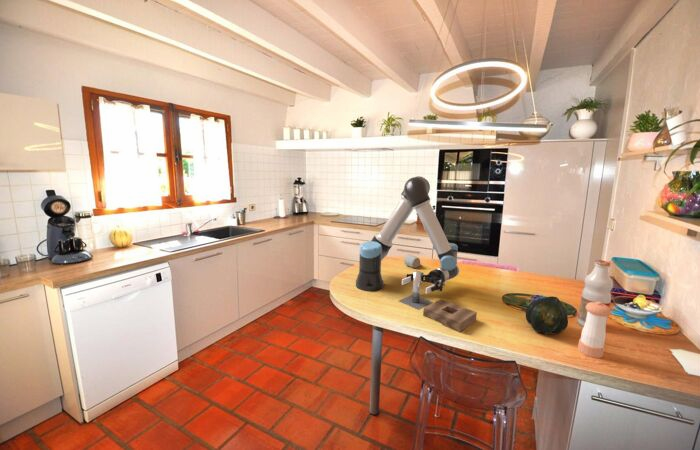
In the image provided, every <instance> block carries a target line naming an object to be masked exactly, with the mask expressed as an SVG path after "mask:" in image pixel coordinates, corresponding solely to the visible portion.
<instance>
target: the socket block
mask: <svg viewBox="0 0 700 450" xmlns="http://www.w3.org/2000/svg"><path fill="white" fill-rule="evenodd" d="M477 313H478V312H477V311H475V310H472V309H470V308H467V307H464V306H461V305H458V304H456V303H453V302H450V301H448V300H445V299H443V298H440V299H438V300H436V301H434V302H433V303H431V304H429V305H427V306H425V307H423V314H422V316H423V317H425V318H427V319H430V320H432V321H435V322H437V323H439V324H441V325H442V326H444V327H447V328H449V329H450V330H454V331H456V332H458V333H460V332H462V331H463V330H465V329H466V328H467V327H470V326H471V325H472V324H473V323H476V320H477Z"/></svg>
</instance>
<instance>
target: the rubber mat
mask: <svg viewBox="0 0 700 450" xmlns="http://www.w3.org/2000/svg"><path fill="white" fill-rule="evenodd" d="M398 302H399V303H402V304H403V305H406V306H408V307H410V308H411V307H412V309H415V310H419V311H420V310H422V309H424V307H426V306H428V305H430V304H432V303H434V302H433V301H431V300H428V299H427V298H426V299H425V298H423V297H421V296H420V301H419V303H413V302H412V294H411V295H409V296H406V297H403V298H401V299H399V300H398Z"/></svg>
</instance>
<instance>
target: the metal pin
mask: <svg viewBox="0 0 700 450" xmlns="http://www.w3.org/2000/svg"><path fill="white" fill-rule="evenodd" d="M421 273H422V271H420V270H414V271H413V273H412V274H413V281H412V289H411V290H412V292H411V293H412V294H411V295H412V302H413V303H419V301H420V297H421V285H422V281H421Z"/></svg>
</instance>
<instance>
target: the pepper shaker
mask: <svg viewBox="0 0 700 450" xmlns="http://www.w3.org/2000/svg"><path fill="white" fill-rule="evenodd" d="M586 310H587V311H588V312H587V317H586V322H585V325H584V327H583V326H582V329H581V336H580V338H579V340H578V345H577V349H578V351H579V352H581V354H584V355H586V356H588V357H591V358H594V359H595V358H596V359H601V358H603V357H604V353H605V348H606V346H605V341H606V338H607V336H606V335H607V334H606V330H607V329H606V327H607V323H606V321H607V322H608V318H607V316H608V317H610V316H611V314H612V309H611V307H608V306H606V305H604V304H602V303H601V302H590V303H588V304H587V305H586Z"/></svg>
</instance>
